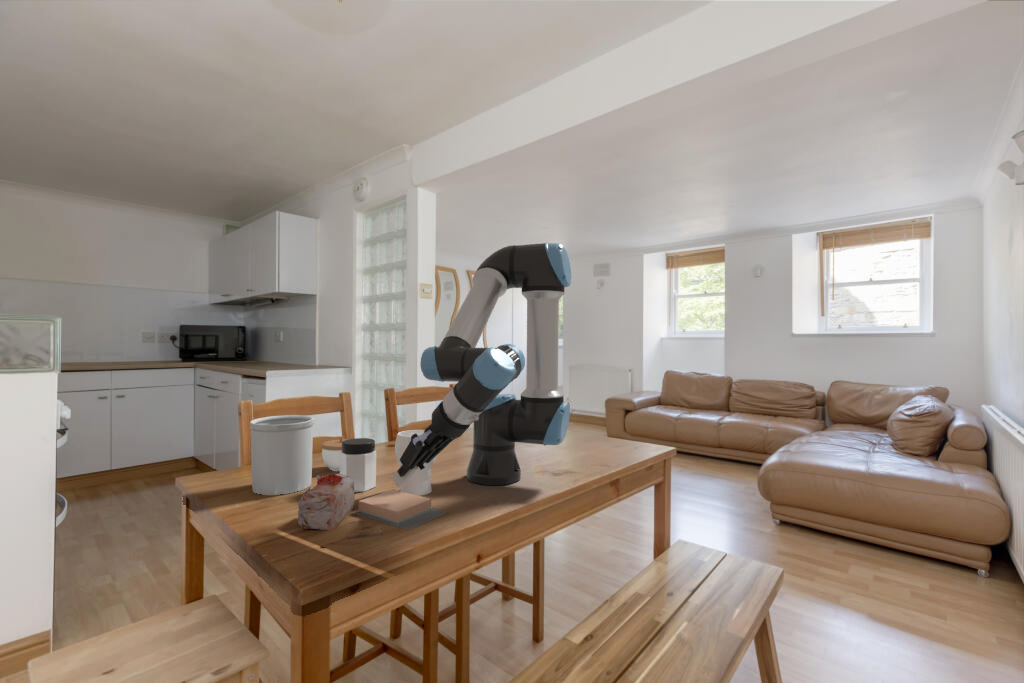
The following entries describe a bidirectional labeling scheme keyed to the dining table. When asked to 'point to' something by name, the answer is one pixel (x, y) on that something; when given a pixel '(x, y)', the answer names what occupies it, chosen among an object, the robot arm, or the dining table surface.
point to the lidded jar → (332, 453)
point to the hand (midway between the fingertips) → (396, 481)
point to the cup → (420, 478)
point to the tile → (394, 506)
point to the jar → (359, 462)
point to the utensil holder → (281, 454)
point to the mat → (413, 521)
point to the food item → (327, 502)
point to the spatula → (363, 534)
